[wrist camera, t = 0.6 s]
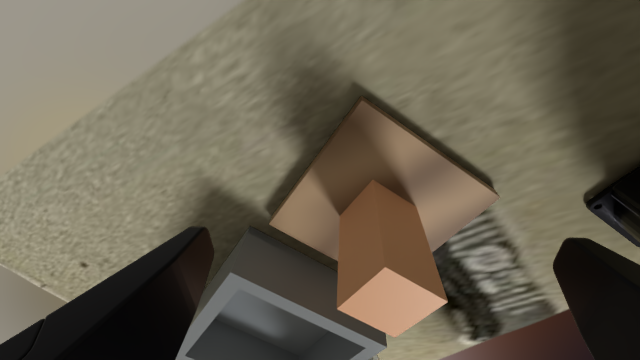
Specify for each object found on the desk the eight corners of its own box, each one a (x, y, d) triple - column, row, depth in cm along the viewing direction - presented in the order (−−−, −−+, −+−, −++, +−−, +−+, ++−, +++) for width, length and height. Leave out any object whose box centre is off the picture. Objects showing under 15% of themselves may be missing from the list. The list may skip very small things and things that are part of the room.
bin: (381, 295, 29) (386, 347, 24) (303, 357, 35) (297, 406, 31) (249, 226, 26) (230, 272, 21) (191, 308, 32) (167, 356, 28)
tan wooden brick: (416, 207, 22) (447, 301, 15) (381, 240, 24) (394, 337, 17) (372, 179, 21) (385, 267, 14) (339, 216, 23) (336, 309, 16)
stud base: (494, 189, 22) (535, 243, 17) (386, 279, 28) (394, 338, 23) (361, 95, 19) (366, 128, 14) (271, 216, 25) (253, 269, 20)
